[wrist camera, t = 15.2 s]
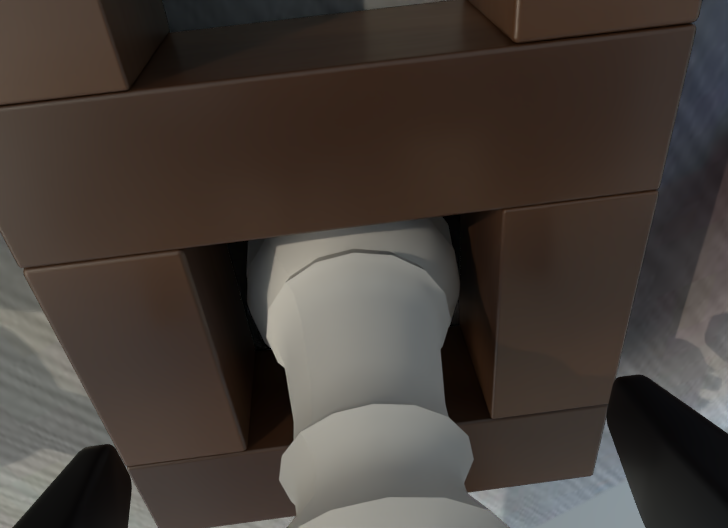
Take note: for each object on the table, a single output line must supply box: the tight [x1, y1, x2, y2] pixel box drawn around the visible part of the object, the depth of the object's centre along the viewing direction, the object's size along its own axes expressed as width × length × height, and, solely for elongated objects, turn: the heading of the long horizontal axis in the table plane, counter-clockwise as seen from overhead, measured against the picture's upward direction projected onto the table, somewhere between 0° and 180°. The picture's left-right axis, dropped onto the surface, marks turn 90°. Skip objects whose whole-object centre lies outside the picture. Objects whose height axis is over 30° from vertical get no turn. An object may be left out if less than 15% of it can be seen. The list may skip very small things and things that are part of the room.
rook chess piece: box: [246, 216, 510, 528], centre depth 10 cm, size 4×4×8 cm
